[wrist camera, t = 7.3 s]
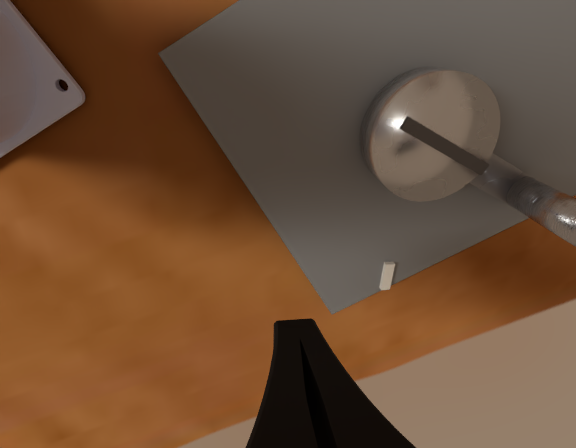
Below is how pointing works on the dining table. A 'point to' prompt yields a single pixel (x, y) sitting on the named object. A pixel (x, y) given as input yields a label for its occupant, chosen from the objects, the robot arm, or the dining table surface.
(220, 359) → the dining table surface
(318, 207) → the grey square mat
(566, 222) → the grey piece
